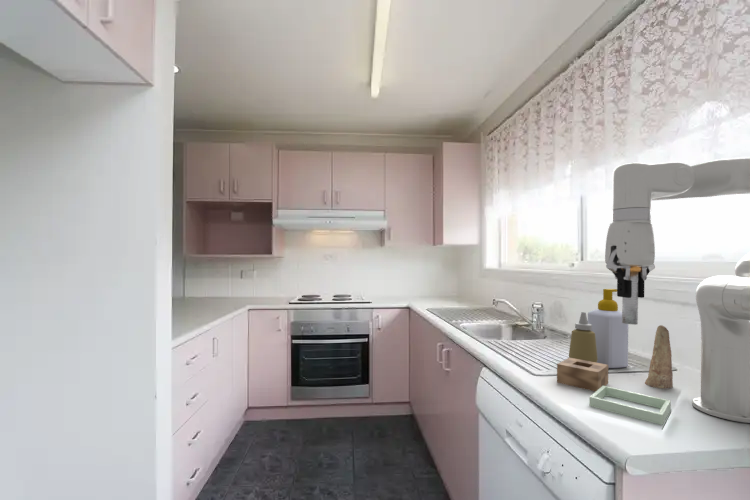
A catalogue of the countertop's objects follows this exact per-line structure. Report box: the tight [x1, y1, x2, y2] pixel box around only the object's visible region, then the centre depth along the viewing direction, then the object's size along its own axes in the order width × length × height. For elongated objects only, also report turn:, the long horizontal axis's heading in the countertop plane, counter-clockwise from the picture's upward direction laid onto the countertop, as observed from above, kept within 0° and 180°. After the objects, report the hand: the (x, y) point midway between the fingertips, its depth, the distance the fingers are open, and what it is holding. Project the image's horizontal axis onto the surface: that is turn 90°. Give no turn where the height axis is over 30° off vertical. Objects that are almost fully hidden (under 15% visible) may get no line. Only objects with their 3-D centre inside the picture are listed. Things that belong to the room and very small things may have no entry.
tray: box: [588, 385, 672, 430], centre depth 87 cm, size 14×12×3 cm
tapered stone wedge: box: [644, 324, 674, 389], centre depth 102 cm, size 6×18×6 cm
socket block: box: [556, 357, 609, 393], centre depth 104 cm, size 10×10×6 cm
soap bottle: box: [587, 288, 629, 369], centre depth 126 cm, size 9×9×25 cm
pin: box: [621, 266, 641, 326], centre depth 87 cm, size 4×4×13 cm
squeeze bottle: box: [568, 312, 598, 363], centre depth 120 cm, size 8×8×18 cm
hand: (630, 296), depth 87 cm, fingers closed on pin, 3 cm apart
